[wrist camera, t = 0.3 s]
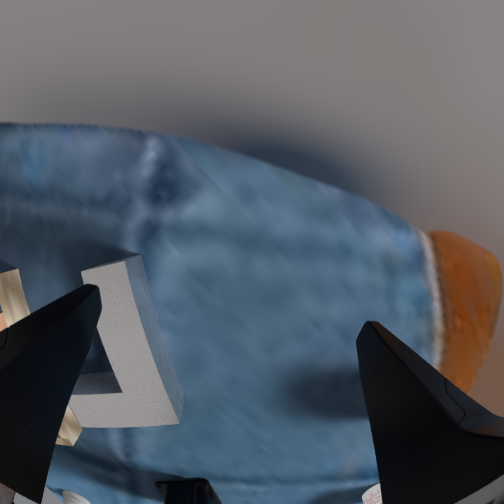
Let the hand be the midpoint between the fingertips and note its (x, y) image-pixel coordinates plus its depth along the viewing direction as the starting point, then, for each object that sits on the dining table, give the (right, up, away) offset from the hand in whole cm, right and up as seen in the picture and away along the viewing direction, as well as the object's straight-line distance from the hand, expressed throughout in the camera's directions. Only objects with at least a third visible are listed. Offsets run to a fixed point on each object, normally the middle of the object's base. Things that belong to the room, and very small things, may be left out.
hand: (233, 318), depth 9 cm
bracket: (-11, -5, +13) cm, 18 cm away
